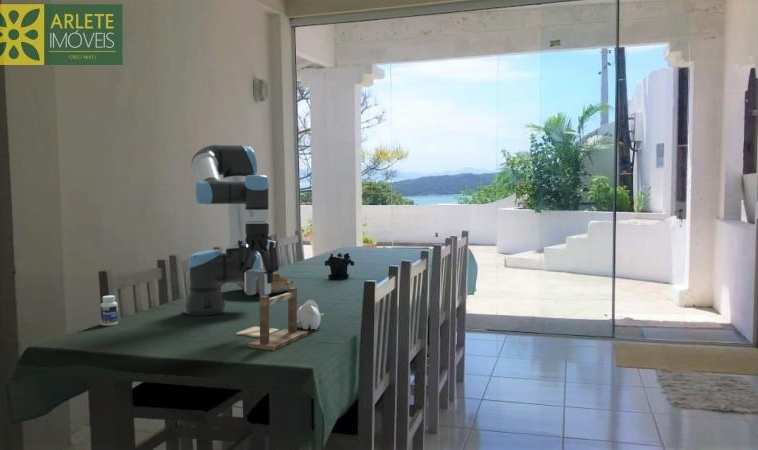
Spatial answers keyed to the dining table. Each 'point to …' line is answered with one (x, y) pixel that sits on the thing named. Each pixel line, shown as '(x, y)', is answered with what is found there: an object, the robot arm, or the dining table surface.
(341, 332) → the dining table surface
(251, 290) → the c link
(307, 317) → the elephant figurine
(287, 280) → the brown wooden chunk
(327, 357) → the dining table surface
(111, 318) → the pill bottle
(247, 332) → the cork coaster
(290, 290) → the stand
